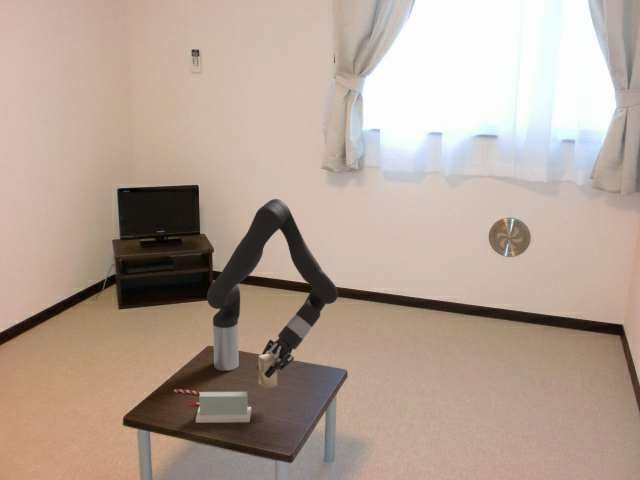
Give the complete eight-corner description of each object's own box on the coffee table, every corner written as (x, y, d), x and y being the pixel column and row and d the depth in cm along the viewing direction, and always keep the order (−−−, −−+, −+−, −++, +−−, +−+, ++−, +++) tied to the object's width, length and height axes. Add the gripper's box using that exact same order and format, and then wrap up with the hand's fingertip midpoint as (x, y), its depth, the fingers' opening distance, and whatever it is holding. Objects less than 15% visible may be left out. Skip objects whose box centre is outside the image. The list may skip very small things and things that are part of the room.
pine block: (258, 383, 208) (258, 355, 205) (270, 380, 210) (270, 352, 207) (265, 389, 204) (265, 361, 201) (277, 385, 206) (277, 357, 204)
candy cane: (180, 385, 221) (214, 395, 214) (180, 388, 221) (214, 399, 214) (165, 394, 214) (199, 405, 207) (165, 397, 215) (199, 409, 207)
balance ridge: (199, 411, 205) (198, 389, 203) (251, 410, 206) (250, 388, 204) (195, 422, 198) (195, 399, 196) (249, 422, 199) (249, 399, 197)
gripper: (277, 318, 212) (245, 359, 208) (299, 333, 200) (265, 376, 197) (291, 330, 216) (259, 370, 213) (313, 345, 204) (280, 387, 201)
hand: (262, 373), depth 205 cm, fingers closed on pine block, 4 cm apart
